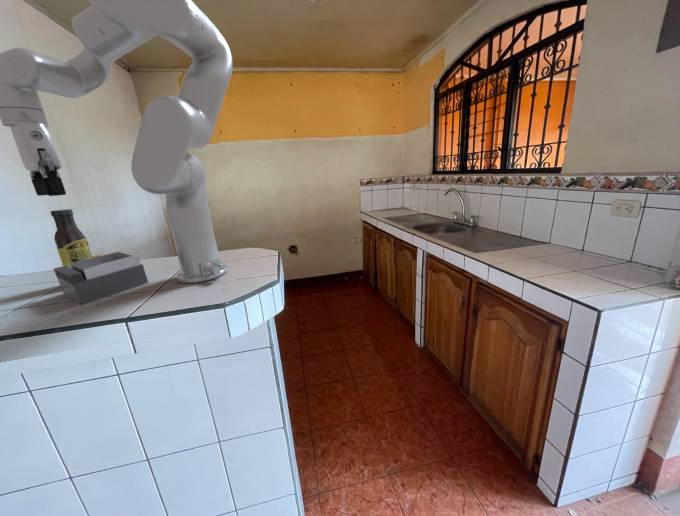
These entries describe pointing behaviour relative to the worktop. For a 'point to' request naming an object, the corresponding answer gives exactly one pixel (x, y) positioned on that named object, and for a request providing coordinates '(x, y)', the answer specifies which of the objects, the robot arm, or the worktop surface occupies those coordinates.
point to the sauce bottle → (69, 238)
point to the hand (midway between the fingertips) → (51, 195)
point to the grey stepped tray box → (100, 276)
